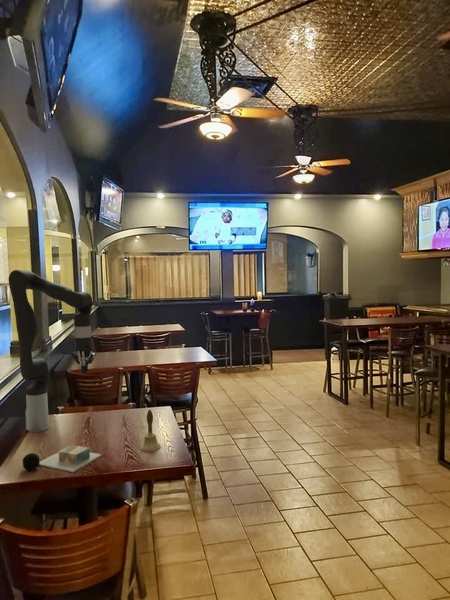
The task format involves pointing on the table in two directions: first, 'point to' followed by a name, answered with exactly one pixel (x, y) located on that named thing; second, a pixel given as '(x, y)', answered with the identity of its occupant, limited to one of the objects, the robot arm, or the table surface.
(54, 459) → the mat
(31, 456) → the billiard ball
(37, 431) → the robot arm
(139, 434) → the table surface
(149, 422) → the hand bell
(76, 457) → the block
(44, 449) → the table surface
